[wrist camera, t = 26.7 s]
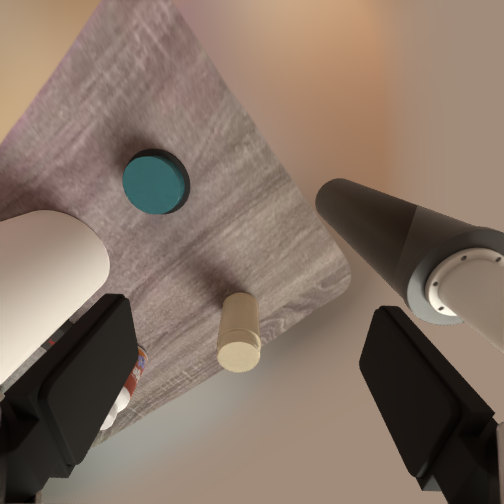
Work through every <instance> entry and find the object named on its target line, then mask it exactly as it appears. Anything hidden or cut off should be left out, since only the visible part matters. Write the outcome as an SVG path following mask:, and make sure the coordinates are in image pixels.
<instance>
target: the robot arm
mask: <svg viewBox="0 0 504 504" xmlns="http://www.w3.org/2000/svg"><path fill="white" fill-rule="evenodd" d="M425 296H426V300H427V302H428V303H429V305H430V306H431V307H432V308H434V309H435V310H436V311H437V312H439V313H442V314H444V315H449V316H458V317H459V318H461V319H462V320H463V321H464V322H466V323H467V324H468V325H469V326H470V327H472V328H473V329H474V330H475V331H477V332H478V333H479V334H480V335H481V336H483V337H484V338H485V339H486V340H487V341H489V342H490V343H491V344H492V345H494V346H495V347H496V348H497V349H498V350H499V351H501V352H502V353H503V354H504V256H502V255H501V254H499V253H498V252H495V251H493V250H491V249H487V248H469V249H465V250H462V251H459V252H457V253H455V254H453V255H451V256H449V257H448V258H446V259H445V260H444V261H442V262H441V263H440V264H439V265H438V266H437V267H436V268H435V269H434V270H433V272H432V273H431V275H430V276H429V278H428V280H427V283H426V287H425ZM138 356H139V350H138V344H137V339H136V334H135V328H134V323H133V318H132V312H131V307H130V302H129V299H127V298H125V296H124V295H123V294H108V293H107V294H105V295H103V296H102V297H101V298H100V299H99V300H98V301H97V302H96V303H95V304H94V305H93V306H92V307H91V308H90V309H89V310H88V311H87V312H86V313H85V314H84V315H83V316H82V317H81V318H80V319H79V320H78V321H77V322H76V323H75V324H74V325H73V326H72V327H71V328H70V329H69V330H68V331H67V332H66V333H65V334H64V335H63V336H62V337H61V338H60V339H59V340H58V341H57V342H56V343H55V344H54V345H53V346H52V347H51V348H50V349H49V350H48V351H47V352H46V353H45V354H44V355H43V356H42V357H41V358H39V359H38V360H37V361H36V362H35V363H34V364H33V365H32V366H31V367H30V368H29V369H28V370H27V371H26V372H25V373H24V374H23V375H22V376H21V377H20V378H19V379H18V380H17V381H16V382H15V383H14V384H13V385H12V386H11V387H10V388H9V389H8V390H7V391H6V392H5V393H4V395H5V398H4V399H3V400H2V401H1V402H0V504H42V488H43V487H44V485H45V483H46V482H47V480H48V479H49V477H53V478H54V477H55V478H68V477H69V476H70V474H71V472H72V470H73V468H74V467H75V465H78V464H80V463H81V462H82V461H83V459H84V458H85V456H86V454H87V452H88V450H89V449H90V447H91V445H92V443H93V441H94V439H95V438H96V436H97V434H98V432H99V430H100V428H101V427H102V425H103V423H104V421H105V419H106V417H107V416H108V414H109V412H110V410H111V408H112V406H113V405H114V403H115V401H116V399H117V397H118V395H119V394H120V392H121V390H122V388H123V386H124V384H125V382H126V381H127V379H128V377H129V375H130V373H131V371H132V370H133V368H134V366H135V364H136V362H137V360H138ZM359 366H360V370H361V372H362V375H363V377H364V379H365V381H366V383H367V385H368V387H369V390H370V392H371V394H372V396H373V398H374V400H375V402H376V404H377V406H378V409H379V411H380V413H381V415H382V417H383V419H384V421H385V423H386V426H387V428H388V430H389V432H390V434H391V436H392V438H393V440H394V442H395V444H396V446H397V449H398V451H399V453H400V455H401V457H402V459H403V462H404V464H405V466H406V468H407V470H408V472H409V473H410V474H411V475H412V476H413V477H416V479H417V481H418V483H419V485H420V487H421V490H422V491H442V493H443V494H444V496H445V498H446V500H447V502H448V504H504V422H502V423H500V424H498V423H497V422H496V421H495V420H494V419H493V418H492V417H493V415H494V414H495V412H494V411H493V410H492V409H491V408H490V407H489V406H488V405H487V404H486V403H485V401H484V400H483V399H482V398H481V397H480V396H479V395H478V394H477V392H476V391H475V390H474V389H473V388H472V387H471V386H470V385H469V384H468V383H467V381H466V380H465V379H464V378H463V377H462V376H461V375H460V374H459V373H458V371H457V370H456V369H455V368H454V367H453V366H452V365H451V364H450V363H449V362H448V360H447V359H446V358H445V357H444V356H443V355H442V354H441V353H440V351H439V350H438V349H437V348H436V347H435V346H434V345H433V344H432V343H431V341H430V340H429V339H428V338H427V337H426V336H425V335H424V334H423V333H422V331H421V330H420V329H419V328H418V327H417V326H416V325H415V324H414V323H413V322H412V320H410V318H409V317H408V316H407V315H406V314H405V313H404V312H403V310H402V309H401V308H399V307H398V306H380V307H379V309H376V310H375V312H374V315H373V318H372V321H371V324H370V328H369V331H368V334H367V338H366V341H365V344H364V347H363V351H362V354H361V357H360V361H359Z"/></svg>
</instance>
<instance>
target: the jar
mask: <svg viewBox="0 0 504 504" xmlns="http://www.w3.org/2000/svg"><path fill="white" fill-rule="evenodd" d="M217 348H218V350H217V359H218V361H219V363H220V365H221V366H222V367H223V368H225V369H226V370H229V371H232V372H245V371H248V370H250V369H252V368H254V367H255V366H256V365H257V363H258V361H259V358H260V348H261V336H260V321H259V306H258V302H257V301H256V299H255V298H254V297H253V296H251V295H249V294H247V293H234V294H232V295H230V296H228V297H227V298H226V299H225V301H224V303H223V307H222V313H221V320H220V327H219V333H218V340H217Z"/></svg>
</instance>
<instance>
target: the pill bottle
mask: <svg viewBox="0 0 504 504" xmlns="http://www.w3.org/2000/svg"><path fill="white" fill-rule="evenodd" d="M138 350H139V356H138V360H137V362H136V364H135V366H134V368H133V370H132V371H131V373H130V375H129V377H128V379H127V381H126V382H125V384H124V386H123V388H122V390H121V392H120V394H119V395H118V397H117V399H116V401H115V403H114V405H113V406H112V408H111V410H110V412H109V414H108V416H107V417H106V419H105V421H104V423H103V425H102V427H101V428H100V430H105V429H107V428H109V427H110V426H111V425H112V424H113V422H114V420H115V418H116V416H117V413H118V412H120V411H122V410H123V409H124V408H125V407H126V406H127V404H128V402H129V400H130V398H131V396H132V394H133V392H134V390H135V387H136V385H137V383H138V381H139V379H140V376H141V374H142V372H143V370H144V368H145V366H146V363H147V354H146V352H145V351H144V350H143V349H142V348H141V347H139V346H138Z"/></svg>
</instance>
